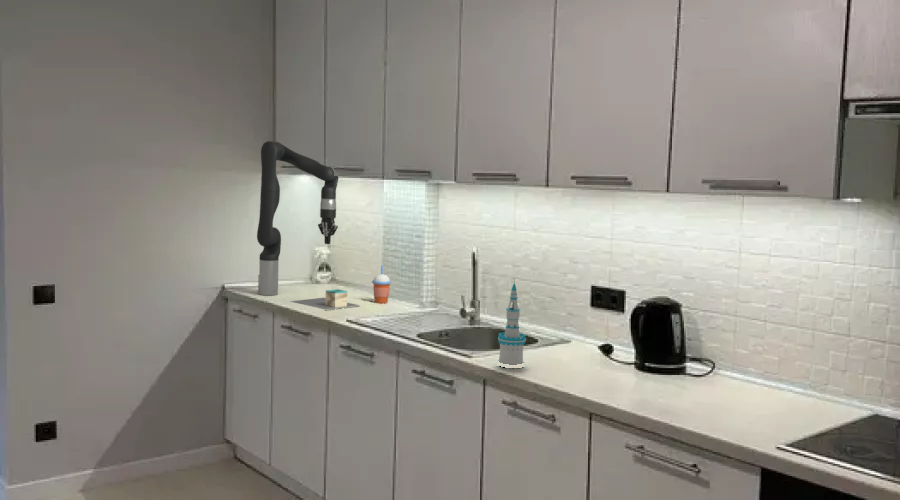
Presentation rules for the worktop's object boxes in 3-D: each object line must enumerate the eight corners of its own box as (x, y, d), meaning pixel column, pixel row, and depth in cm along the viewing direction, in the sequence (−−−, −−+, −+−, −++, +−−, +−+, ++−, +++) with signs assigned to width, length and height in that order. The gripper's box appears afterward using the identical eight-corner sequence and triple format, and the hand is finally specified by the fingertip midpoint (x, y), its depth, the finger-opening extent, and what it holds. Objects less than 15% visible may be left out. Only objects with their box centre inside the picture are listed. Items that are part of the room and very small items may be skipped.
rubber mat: (289, 302, 405) (289, 301, 405) (323, 298, 420) (323, 297, 420) (325, 310, 387) (325, 309, 387) (359, 306, 401) (359, 305, 401)
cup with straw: (382, 304, 409) (383, 267, 407) (367, 302, 414) (368, 265, 412) (394, 302, 416) (395, 265, 414) (379, 300, 421) (380, 263, 419)
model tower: (508, 370, 287) (512, 280, 284) (490, 363, 295) (493, 276, 292) (531, 367, 293) (535, 279, 290) (513, 360, 301) (517, 275, 298)
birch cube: (335, 292, 392) (335, 307, 392) (347, 291, 397) (346, 306, 398) (325, 290, 397) (325, 305, 397) (337, 289, 402) (337, 304, 402)
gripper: (313, 207, 416) (312, 243, 417) (330, 209, 407) (329, 245, 408) (325, 207, 421) (325, 242, 423) (343, 208, 412) (342, 245, 414)
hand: (327, 244), depth 416 cm, fingers closed
